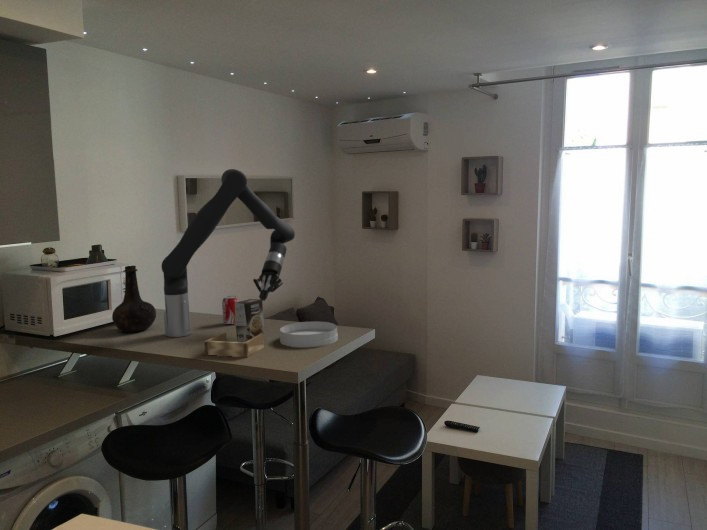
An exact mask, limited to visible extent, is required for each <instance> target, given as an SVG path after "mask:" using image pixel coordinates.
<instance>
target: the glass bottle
mask: <svg viewBox="0 0 707 530" xmlns="http://www.w3.org/2000/svg"><path fill="white" fill-rule="evenodd" d="M138 271H139V270H138V269H137V265H126V266H124V270H122V272H125V273H124V275H125V276H124V277H125V283H124V284H125V286H124V297H123V300H122V302H121V303H120V304H118V305H117V306H116V307H115V308H114V310H113V311H112V314H111V317H112V318H111V319H112V322H113V325H114V326H115V327H116V328H117V329H118V330H120V331H121V332H125V333H137V332H141V331H142V332H143V331H145V330H147V329H149V328H150V327H151V326H152V325H153V324H154V322H155V320H156V318H157V310H156V308H155V306H154V305H153V304H152V303H150V302H148V301H145V300H143V299H142V297H141V294H140V290H139V285H138V278H137V272H138Z"/></svg>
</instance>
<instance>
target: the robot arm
mask: <svg viewBox="0 0 707 530" xmlns="http://www.w3.org/2000/svg"><path fill="white" fill-rule="evenodd" d="M220 180H221V186H220V187H219V188H218V190H217V191H216V193H215V194H214V196H213V197H212V198H211V199H210V200H208V201H207V203H205V204H204V205H203V206H202V207H201V208H200V209H199V210H198V211H197V213H196V214H195V215H194V216H193V218H192V220H191V221H190V223H189V225H187V228H186V229H185V231H184V233H183V235H182V237H181V238H180V240H179V242H177V244H176V246H174V248H173V249H172V251H171V252H170V253H168V255H167V256H165V258H164V259H163V260H162V262H161V271H162V273H163V292H164V293H163V294H164V305H165V312H164V313H163V321H164V322H163V323H164V334H165V337H166V336H167V337H169V338H170V337H171V338H179V337H186V336H189V335H190V334H192V331H191V330H192V328H191V317H190V304H189V303H190V302H189V289H188V288H189V287H188V285H189V283H188V264H189V263H190V260H192V258H193V256H194V254H195V253H196V252H197V251H198V250H199V248H201V247H202V245H203V244H204V243H205V242H206V241H207V240H208V239H209V237H210V236H211V235H212V234H213V232H214V231H215V229H216V228H217V226H218V225H219V223H220V222H221V221H222V219H223V218H224V216H225V214H226V213H227V211H228V209H229V208H230V206H231V205H232V204H233V202H234V201H235V200H236V199H238V200H240V201H241V202H242V203H243V205H245V207H246V208H247V209H248V210H249V211H250V212H251V214H252V215H253V216H254V217H255V218H256V219H257V221H258V222H259V223H261V225H262V226H263V227H264V228H265V229H266V230H273V231H272V232H271V234H270V240H269V242H270V243H269V244H270V245H269V246H270V247H269V250H268V253H267V255H266V258H265V260H264V262H263V263H264V264H263V266H262V270H261V273H260V275H259V277H258V278H253V280H252V281H253V282H254V285H255V287H256V289H257V290H258V292H259V296H258V298H259V299H261V300H262V302H264V301H266V300H267V299H268V295H269V294H270V293H274V292H275V291H276V290H277V289H279V288H280V287H281V286H282V285H283V284H284V282H283V280H282V279H281V278H280V277H281V276H280V275H281V272H282V269H283V266H284V261H285V258H286V254H287V246H286V245H285V244H286V243H288V242H291V241H292V240H294V239H295V236H296V233H295V230H294V228H293V227H292V226H291V225H290V224H289V223H287V222H286V221H285V220H283V219H282V218H280V217H278V216H277V215H276V213H275V212H274V211H273V210H272V209H271V208H270V207H269V206H268V205H267V204H266V203H265V202H264V201H263V200H262V199H261V198H260V197H259V196H258V195H257V194H255V192H254V191H252V189H251V188H250V187H249V185H248V179H247V175H245V173H244V172H243V171H241V170H239V169H235V168H230V169H226V170H225V171H224V172H223V173H222V175H221V179H220ZM260 285H261V286H260Z"/></svg>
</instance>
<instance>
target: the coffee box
mask: <svg viewBox="0 0 707 530" xmlns="http://www.w3.org/2000/svg"><path fill="white" fill-rule="evenodd" d="M263 305H264V304H263V301H262V300H261V299H260V298H259V299H257V298H254V299H253V298H248V299H245V300H241V301H238V302H235V317H236V324H235V329H236V330H235V331H236V332H235V334H236V335H235V336H236V342H246V341H248V340H250V339H252V338H254V337H255V336H257V335H259V334H263V341H265V329H264V326H265V325H264V308H263Z"/></svg>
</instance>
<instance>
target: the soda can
mask: <svg viewBox="0 0 707 530" xmlns="http://www.w3.org/2000/svg"><path fill="white" fill-rule="evenodd" d="M235 302H239V300H238V298H237V295H226V296H223V299H222V302H221V304H222V305H221V306H222V321H223V324H225V325H226V324H234V325H236V317H235Z"/></svg>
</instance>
